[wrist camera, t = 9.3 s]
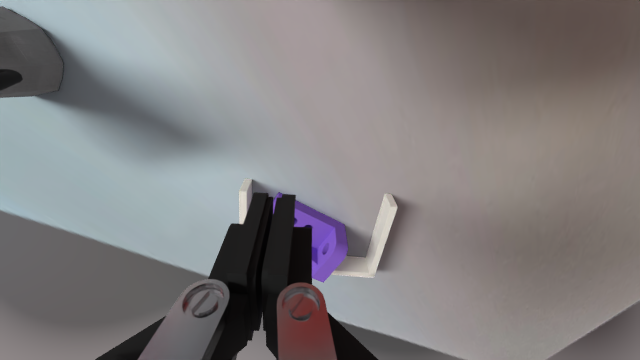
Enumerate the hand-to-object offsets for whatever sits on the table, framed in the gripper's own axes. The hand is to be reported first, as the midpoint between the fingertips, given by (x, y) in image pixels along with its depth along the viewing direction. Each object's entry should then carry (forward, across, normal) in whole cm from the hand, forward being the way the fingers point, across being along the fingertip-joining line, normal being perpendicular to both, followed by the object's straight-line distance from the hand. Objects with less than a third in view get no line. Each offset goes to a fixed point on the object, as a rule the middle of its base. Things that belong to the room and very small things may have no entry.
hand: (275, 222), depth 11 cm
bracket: (+25, -1, +21) cm, 32 cm away
